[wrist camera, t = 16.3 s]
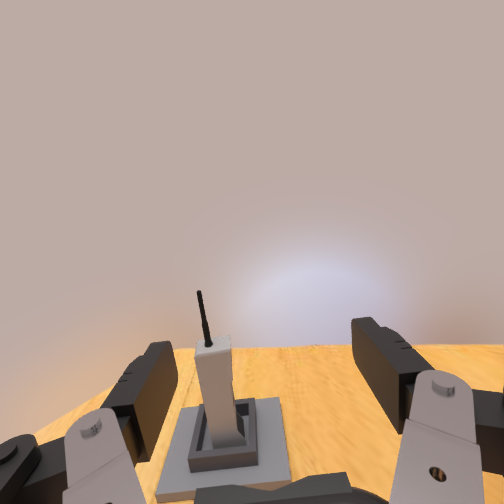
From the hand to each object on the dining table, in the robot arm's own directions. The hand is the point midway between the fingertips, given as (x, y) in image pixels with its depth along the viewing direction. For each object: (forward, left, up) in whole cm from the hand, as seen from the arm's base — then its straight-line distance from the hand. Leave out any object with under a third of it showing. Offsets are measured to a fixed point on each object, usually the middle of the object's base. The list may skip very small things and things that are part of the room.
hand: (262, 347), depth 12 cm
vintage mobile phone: (+8, -23, -31) cm, 39 cm away
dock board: (+8, -23, -32) cm, 40 cm away
